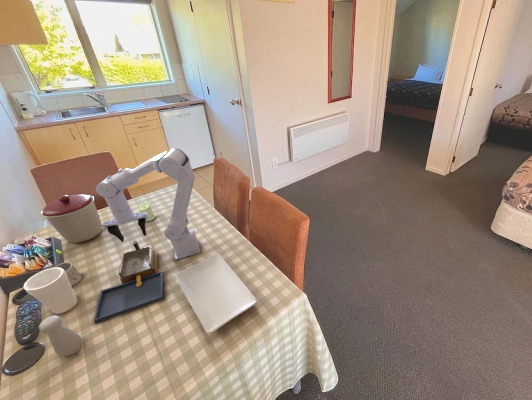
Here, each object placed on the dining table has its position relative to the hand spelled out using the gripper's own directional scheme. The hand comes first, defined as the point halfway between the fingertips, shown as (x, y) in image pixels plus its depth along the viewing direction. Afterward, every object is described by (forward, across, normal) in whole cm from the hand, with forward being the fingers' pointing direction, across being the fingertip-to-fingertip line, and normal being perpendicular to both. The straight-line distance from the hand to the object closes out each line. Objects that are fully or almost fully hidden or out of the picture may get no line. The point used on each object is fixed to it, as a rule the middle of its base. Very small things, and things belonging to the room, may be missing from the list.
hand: (134, 237), depth 105 cm
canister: (+10, +24, -28) cm, 38 cm away
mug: (+10, +25, +4) cm, 27 cm away
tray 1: (+9, +2, +22) cm, 24 cm away
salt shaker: (+10, +16, +36) cm, 41 cm away
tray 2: (+10, -24, +35) cm, 43 cm away
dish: (+6, 0, +8) cm, 10 cm away
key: (+8, 0, +17) cm, 19 cm away
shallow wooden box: (+9, 0, +9) cm, 13 cm away
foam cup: (+10, +22, +16) cm, 29 cm away
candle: (+5, -2, -29) cm, 29 cm away
